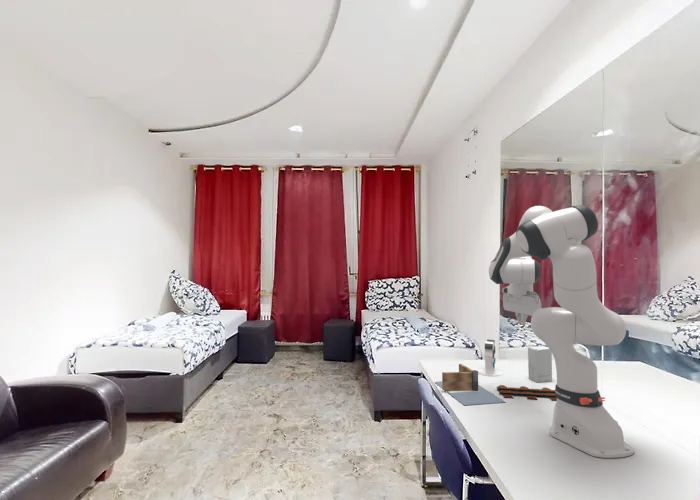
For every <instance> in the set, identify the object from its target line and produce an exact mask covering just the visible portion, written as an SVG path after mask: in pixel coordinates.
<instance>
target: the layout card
mask: <svg viewBox="0 0 700 500" xmlns="http://www.w3.org/2000/svg"><path fill="white" fill-rule="evenodd" d="M434 384H435V385H437V386H438V387H439V388H441V389H442V380H441V381H434ZM444 391H445V392H446V393H447V394H448V395H449V396H451V397H452V398H454V399H455V400H456V401H458V402H459V403H460V404H461V405H463V406H464V407H465V406H467V407H468V406H479V405H481V406H482V405H492V404H506V403H507V402H506V401H505V400H504V399H502V398H500V397H499V396H497V395H495V394H494V393H492V392H491V391H489V390H487V389H485V388H484V387H482V386H481V385H480V384H478V391H473V390H444Z"/></svg>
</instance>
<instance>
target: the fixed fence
mask: <svg viewBox="0 0 700 500" xmlns="http://www.w3.org/2000/svg"><path fill="white" fill-rule="evenodd" d="M458 372H471V373H472V390H473V391H478V385H479V373H478V370H475V369H474V370H473V369H471V368H470V367H467V366H465V365H464V364H462V363H459V364H458Z"/></svg>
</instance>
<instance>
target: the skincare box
mask: <svg viewBox="0 0 700 500" xmlns="http://www.w3.org/2000/svg"><path fill="white" fill-rule="evenodd" d="M552 356H553V354H552V352H551V350H550V349H549V347H548V346H545V345H538V346H537V345H536V346H530V347H529V346H528V347H527V360H528V361H527V362H528V364H527V365H528V366H527V368H528V371H527V372H528V379H529V380H530V381H532V382H534V383H546V382H552V381H553V364H552V363H553V362H552V360H553V359H552V358H553V357H552Z"/></svg>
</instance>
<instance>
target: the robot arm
mask: <svg viewBox="0 0 700 500" xmlns="http://www.w3.org/2000/svg"><path fill="white" fill-rule="evenodd" d="M516 228H517V229H516V231H515V232H514V233H513V234H512V235H510V236H508V237H507V238H505V239H504V240H503V242H502V243H501V245H500V247H499V249H498V250H497V252H496V255H495V257H493V259H492V260H491V262H490V264H489V267H488V275H489V279H490V280H491V281H492V282H493V283H495V284H496V285H503V284H504V285H505V284H509V285H507V286H505V287H502V291H501V292H502V293H503V295H502V306H503V309H504V311H506V312H507V311H508V312H513V313H515V314H514V316H515V317H516V320H517V325H522V326H526V325H527V319H528V317H529V316H531V317H530V318H531V319H530V328H531V330H532V332H533V334H534V336H536V337H537V339H540V341H542V342H543V343H544V344H545V345H546V347H548V348H549V349H550V350H551V352H552V356H553V359H554V364H555V371H556V384H555V387H554V390H555V396H556V397H557V400H556V401H555V404H554V407H553V415H552V426H551V429H550V430H549V435H550V437H554V439H557V440H559V441H561V442H563V443H565V444H567V445H569V446H571V447H574V448H575V449H578V450H579V451H581V452H584V453H585V454H588V455H590V456H592V457H596V458H603V459H617V458H624V457H629V456H632V455H634V454H635V448H634V447H633V446H631V445H630V444H628V443H627V442H626V441H625V440H624V439H625V437H624V432H623V429H622V427H621V426H620V424H619V423H618V421H617V420H615V418H614V417H613V416H612V415H611V414H610V412H608V410H607V409H606V408H605V407H604V406H603V405H604V403H603V402H606V400H605V399H606V397H605V396H604V397H602V396H601V393H600V390H599V389H598V367H597V365H596V363H595V362H594V361H593V360H592V359H591V358H589V357H588V356H586V355H584V354H582V353H580V352H578V351H577V350H576V349H575V348H574V345H587V346H598V347H603V346H617V345H619V344H620V343H622V341H623V340H624V338H625V337H626V334H627V327H626V323H625V321H624V320H623V318H622V317H621V316H620V315H619V314H618V313H617V312H615V311H613V310H611V309H609V308H607V307H606V306H605V305H604V304H603V303H602V302H601V300H600V299H599V295H598V285H597V283H598V282H597V278H598V277H597V267H596V262H595V258H594V255H593V252H592V250H591V249H590V247H588V246H587V245H585V244H582V243H579V242H581V241H586V240H588V239H591V237H593V236H595V234H597V232H598V228H599V220H598V218H597V215H596V213H595V211H594V210H593V209H591V208H590V207H588V206H587V205H584V204H578V205H570V206H567V207H566V208H565V207H564V208H562V209H558V210H555V211H552V209H550V208H549V207H547V206H543V205H534V206H532V207H529V208H528V209H527V210H525V212H524V214H523V215H522V217H521V219H520V220H519V224H518V226H517V227H516ZM532 257H533V258H537V259H538V260H540V261H545V260H547V259H548V258H549V260H550V261H551V264H552V283H553V284H552V285H553V297H554V299H555V302H556V303H557V304H558V305H559V306H560V307H558V306H551V307H550V306H549V307H543V308H542V301H541V299H540V295H539V294H538V293H537V292H536V291H534V284H535V283H537V282H538V281H539V280H540V279H541V264H540V263H539V262H538V261H537V260H535V259H533V258H532Z"/></svg>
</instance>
